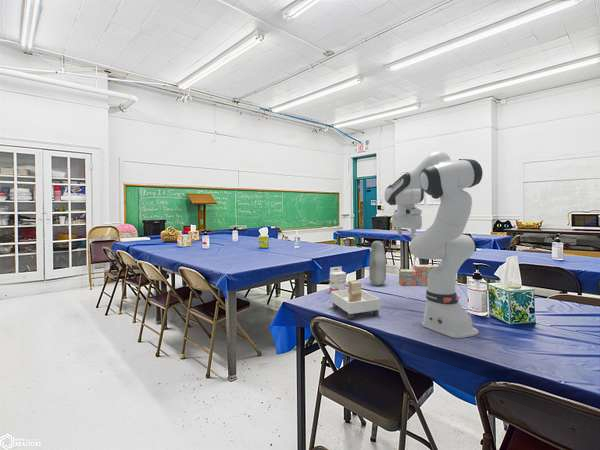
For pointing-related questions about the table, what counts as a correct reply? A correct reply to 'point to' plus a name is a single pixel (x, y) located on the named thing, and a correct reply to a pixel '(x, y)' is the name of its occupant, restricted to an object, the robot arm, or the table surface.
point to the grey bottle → (377, 263)
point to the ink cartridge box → (337, 279)
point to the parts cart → (356, 303)
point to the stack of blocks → (415, 275)
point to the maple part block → (354, 291)
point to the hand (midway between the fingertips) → (405, 236)
